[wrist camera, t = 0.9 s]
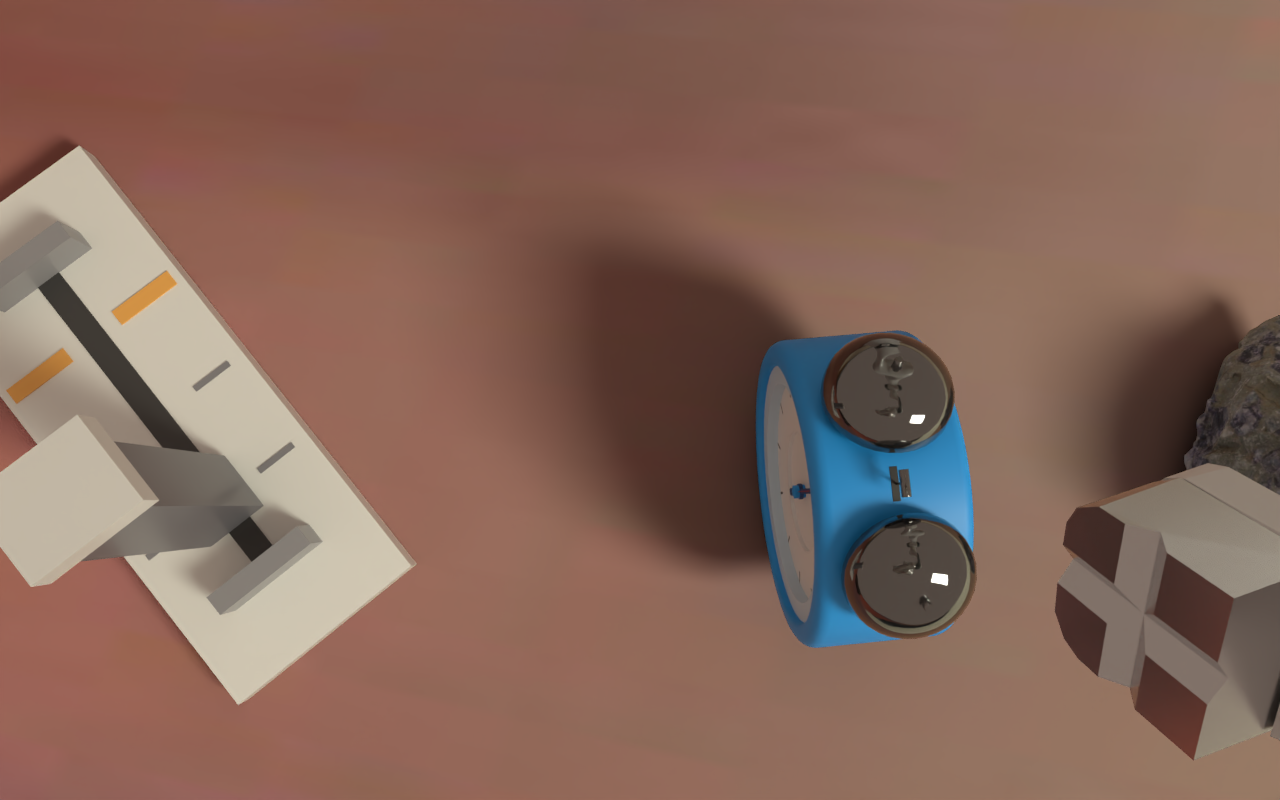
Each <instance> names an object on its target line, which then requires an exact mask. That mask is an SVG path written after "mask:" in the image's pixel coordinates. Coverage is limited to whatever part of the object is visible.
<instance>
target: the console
mask: <svg viewBox="0 0 1280 800" xmlns="http://www.w3.org/2000/svg"><path fill="white" fill-rule="evenodd" d="M0 397H1V398H2V399H3V401H4V402H5V403H6V404H7V406H8V407H9V408H10V410H11V411H12V412H13V414H14V415H15V416H16V417H17V419H18V420H19V421H20V423H21V424H22V425H23V427H24V428H25V429H26V430H27V432H28V433H29V434H30V436H31V437H32V438H33V439H34V441H35V442H36V443H37V444H39V443H40V442H41V441H43V440H44V439H45V438H47V437H48V436H49V435H51V434H52V433H53V432H55V431H56V430H57V429H59V428H60V427H61V426H63V425H64V424H65V423H67V422H68V421H69V420H71V419H72V418H73V417H75V416H76V415H82V416H88V417H94V418H96V419H97V420H98V422H99V423H100V424H101V426H102V427H103V428H104V430H105V431H106V432H107V433H108V435H109V436H110V437H111V439H112V440H113V441H115V442H123V443H130V444H138V445H146V446H154V447H161V448H169V449H177V450H185V451H193V452H200V453H208V454H216V455H224V456H225V457H226V458H227V459H228V460H229V462H230V463H231V464H232V466H233V467H234V468H235V469H236V471H237V472H238V473H239V475H240V476H241V477H242V478H243V480H244V481H245V482H246V483H247V485H248V486H249V487H250V489H251V490H252V491H253V492H254V494H255V495H256V496H257V498H258V499H259V500H260V501H261V503H262V504H263V505H264V506H263V507H261V508H260V509H259V510H258V511H256V512H255V513H254V514H252V515H251V516H250V517H249V518H247V519H246V520H245V521H243V522H242V523H241V524H240V525H238V526H237V527H236V528H235V529H233V530H232V531H231V532H229V533H228V534H227V535H226V536H224V537H223V538H222V539H220V540H219V541H218V542H217V543H215V544H214V545H213V546H211V547H204V548H195V549H186V550H177V551H168V552H159V553H150V554H142V555H133V556H124V557H125V559H126V560H127V561H128V563H129V564H130V565H131V567H132V568H133V569H134V570H135V572H136V573H137V574H138V576H139V577H140V578H141V580H142V581H143V582H144V583H145V585H146V586H147V587H148V589H149V590H150V591H151V593H152V594H153V595H154V596H155V598H156V599H157V600H158V602H159V603H160V604H161V605H162V607H163V608H164V609H165V611H166V612H167V613H168V615H169V616H170V617H171V618H172V620H173V621H174V622H175V624H176V625H177V626H178V628H179V629H180V630H181V631H182V633H183V634H184V635H185V637H186V638H187V639H188V640H189V642H190V643H191V644H192V646H193V647H194V648H195V650H196V651H197V652H198V653H199V655H200V656H201V657H202V659H203V660H204V661H205V663H206V664H207V665H208V666H209V668H210V669H211V670H212V672H213V673H214V674H215V675H216V677H217V678H218V679H219V681H220V682H221V683H222V685H223V686H224V687H225V688H226V690H227V691H228V692H229V694H230V695H231V696H232V698H233V699H234V700H235V701H236V703H237V704H238V705H239V704H241V703H243V702H244V701H246V700H248V699H250V698H251V697H252V696H253V695H255V694H256V693H257V692H258V691H260V690H261V689H262V688H263V687H265V686H266V685H267V684H268V683H270V682H271V681H272V680H273V679H274V678H276V677H277V676H278V675H279V674H281V673H282V672H283V671H284V670H286V669H287V668H288V667H289V666H291V665H292V664H293V663H294V662H296V661H297V660H298V659H299V658H301V657H302V656H303V655H304V654H306V653H307V652H308V651H309V650H311V649H312V648H313V647H314V646H316V645H317V644H318V643H319V642H321V641H322V640H323V639H324V638H326V637H327V636H328V635H329V634H330V633H332V632H333V631H334V630H335V629H337V628H338V627H339V626H340V625H342V624H343V623H344V622H345V621H347V620H348V619H349V618H350V617H352V616H353V615H354V614H355V613H357V612H358V611H359V610H360V609H362V608H363V607H364V606H365V605H367V604H368V603H369V602H370V601H372V600H373V599H374V598H375V597H377V596H378V595H379V594H380V593H382V592H383V591H384V590H385V589H387V588H388V587H389V586H390V585H391V584H393V583H394V582H395V581H396V580H398V579H399V578H400V577H401V576H403V575H404V574H405V573H406V572H408V571H409V570H410V569H411V568H413V567H414V566H415V565H416V562H415V561H414V560H413V558H412V557H411V556H410V555H409V553H408V552H407V551H406V550H405V548H404V547H403V546H402V545H401V543H400V542H399V541H398V539H397V538H396V537H395V536H394V534H393V533H392V532H391V531H390V529H389V528H388V527H387V526H386V524H385V523H384V522H383V521H382V519H381V518H380V517H379V515H378V514H377V513H376V512H375V510H374V509H373V508H372V507H371V505H370V504H369V503H368V502H367V500H366V499H365V498H364V496H363V495H362V494H361V493H360V491H359V490H358V489H357V488H356V486H355V485H354V484H353V483H352V481H351V480H350V479H349V477H348V476H347V475H346V474H345V472H344V471H343V470H342V469H341V467H340V466H339V465H338V464H337V462H336V461H335V460H334V459H333V457H332V456H331V455H330V453H329V452H328V451H327V450H326V448H325V447H324V446H323V445H322V443H321V442H320V441H319V440H318V438H317V437H316V436H315V434H314V433H313V432H312V431H311V429H310V428H309V427H308V426H307V424H306V423H305V422H304V421H303V419H302V418H301V417H300V415H299V414H298V413H297V412H296V410H295V409H294V408H293V407H292V405H291V404H290V403H289V402H288V400H287V399H286V398H285V396H284V395H283V394H282V393H281V391H280V390H279V389H278V388H277V386H276V385H275V384H274V383H273V381H272V380H271V379H270V378H269V376H268V375H267V374H266V372H265V371H264V370H263V369H262V367H261V366H260V365H259V364H258V362H257V361H256V360H255V359H254V357H253V356H252V355H251V353H250V352H249V351H248V350H247V348H246V347H245V346H244V345H243V343H242V342H241V341H240V340H239V338H238V337H237V336H236V334H235V333H234V332H233V331H232V329H231V328H230V327H229V326H228V324H227V323H226V322H225V321H224V319H223V318H222V317H221V316H220V314H219V313H218V312H217V310H216V309H215V308H214V307H213V305H212V304H211V303H210V302H209V300H208V299H207V298H206V297H205V295H204V294H203V293H202V291H201V290H200V289H199V288H198V286H197V285H196V284H195V283H194V281H193V280H192V279H191V278H190V276H189V275H188V274H187V272H186V271H185V270H184V269H183V267H182V266H181V265H180V264H179V262H178V261H177V260H176V259H175V257H174V256H173V255H172V254H171V252H170V251H169V250H168V248H167V247H166V246H165V245H164V243H163V242H162V241H161V240H160V238H159V237H158V236H157V235H156V233H155V232H154V231H153V229H152V228H151V227H150V226H149V224H148V223H147V222H146V221H145V219H144V218H143V217H142V216H141V214H140V213H139V212H138V210H137V209H136V208H135V207H134V205H133V204H132V203H131V202H130V200H129V199H128V198H127V197H126V195H125V194H124V193H123V192H122V190H121V189H120V188H119V186H118V185H117V184H116V183H115V181H114V180H113V179H112V178H111V176H110V175H109V174H108V173H107V171H106V170H105V169H104V167H103V166H102V165H101V164H100V162H99V161H98V160H97V159H96V157H95V156H94V155H92V154H91V153H89V152H88V151H86V150H85V149H83V148H82V147H81V146H78V147H77V148H75V149H74V150H72V151H71V152H70V153H68V154H67V155H65V156H64V157H63V158H61V159H60V160H59V161H57V162H56V163H54V164H53V165H52V166H50V167H49V168H47V169H46V170H45V171H43V172H42V173H40V174H39V175H38V176H36V177H35V178H34V179H32V180H31V181H29V182H28V183H27V184H25V185H24V186H22V187H21V188H20V189H18V190H17V191H16V192H14V193H13V194H11V195H10V196H9V197H7V198H6V199H4V200H3V201H2V202H0Z"/></svg>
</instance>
